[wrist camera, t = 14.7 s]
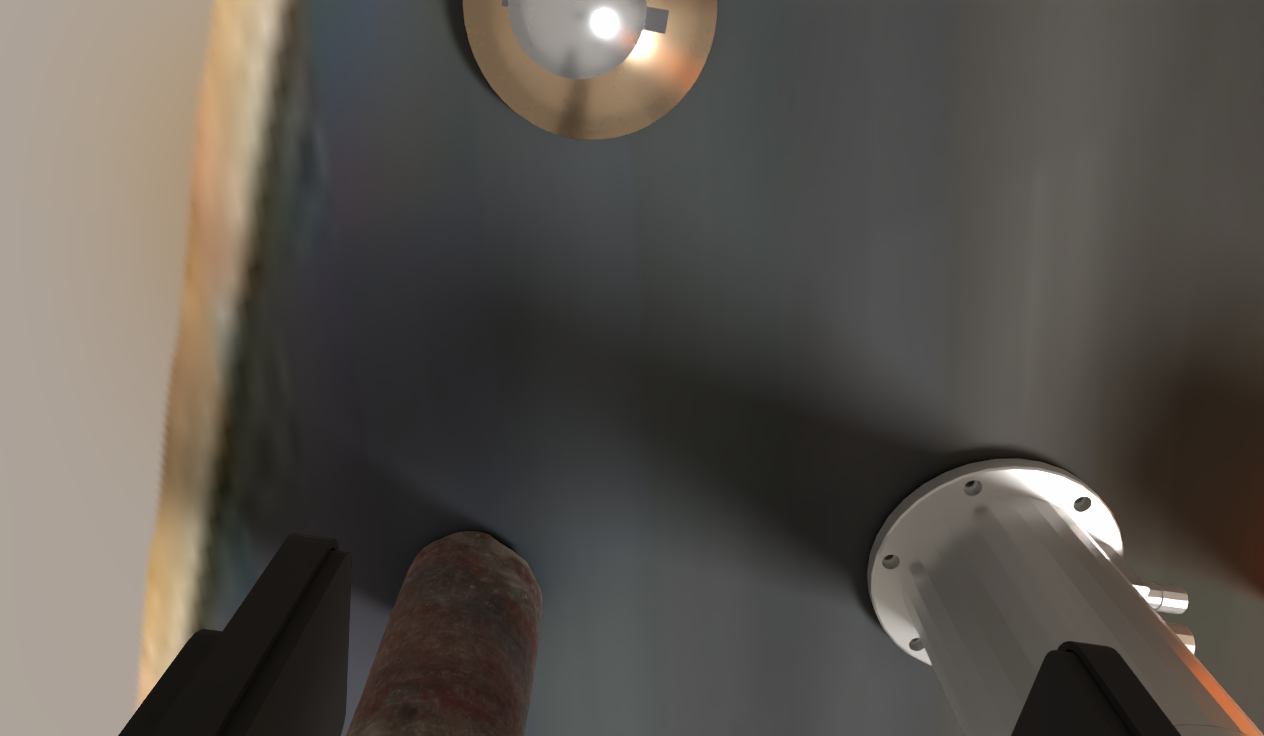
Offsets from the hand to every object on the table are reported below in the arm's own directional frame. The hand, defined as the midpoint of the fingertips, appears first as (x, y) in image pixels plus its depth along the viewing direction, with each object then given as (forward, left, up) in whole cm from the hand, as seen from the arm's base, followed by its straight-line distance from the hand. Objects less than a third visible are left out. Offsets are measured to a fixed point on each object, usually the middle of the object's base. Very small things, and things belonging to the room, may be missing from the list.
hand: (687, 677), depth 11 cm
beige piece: (+4, -8, -28) cm, 30 cm away
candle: (+6, +21, -28) cm, 36 cm away
